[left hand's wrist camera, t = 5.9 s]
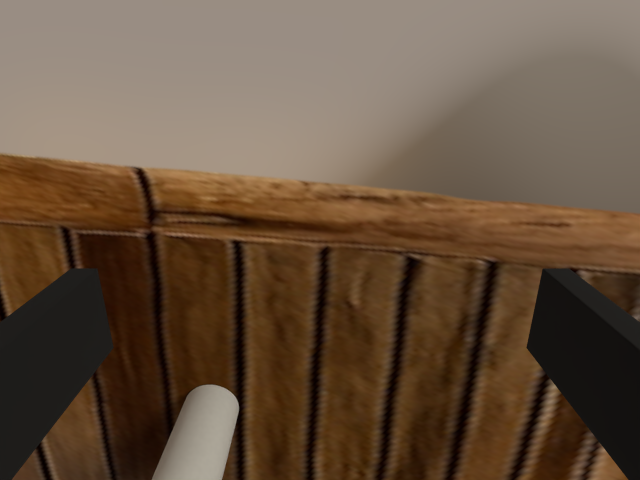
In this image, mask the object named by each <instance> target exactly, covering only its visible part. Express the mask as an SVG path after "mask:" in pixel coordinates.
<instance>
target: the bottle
mask: <svg viewBox="0 0 640 480" xmlns="http://www.w3.org/2000/svg"><path fill="white" fill-rule="evenodd" d="M238 412H239V404H238V401H237V399H236V397H235V396H234V395H233V394H232V393H231V392H230V391H229V390H227V389H225V388H223V387H221V386H217V385H202V386H199V387H197V388H195V389H193V390H192V391H191V392H190V393H189V394H188V395H187V397H186V400H185V402H184V404H183V407H182V409H181V411H180V414H179V416H178V419H177V421H176V423H175V426H174V428H173V430H172V433H171V435H170V438H169V440H168V442H167V445H166V447H165V449H164V452H163V454H162V457H161V459H160V461H159V464H158V466H157V468H156V471H155V473H154V476H153V478H152V480H222V477H223V473H224V469H225V465H226V461H227V457H228V453H229V449H230V445H231V440H232V436H233V432H234V428H235V424H236V420H237V416H238Z"/></svg>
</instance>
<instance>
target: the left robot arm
mask: <svg viewBox="0 0 640 480" xmlns="http://www.w3.org/2000/svg"><path fill="white" fill-rule="evenodd" d="M112 349H113V343H112V338H111V334H110V329H109V324H108V319H107V314H106V309H105V304H104V299H103V295H102V290H101V285H100V280H99V275H98V270H97V269H70V270H69V271H67V272H66V273H65V274H63V275H62V276H61V277H60V278H58V279H57V280H56V281H54V282H53V283H52V284H50V285H49V286H48V287H46V288H45V289H44V290H42V291H41V292H40V293H38V294H37V295H36V296H34V297H33V298H32V299H30V300H29V301H28V302H26V303H25V304H24V305H23V306H21V307H20V308H19V309H17V310H16V311H15V312H13V313H12V314H11V315H9V316H8V317H7V318H5V319H4V320H3V321H1V322H0V480H12V478H13V477H14V476H15V474H16V473H17V472H18V471H19V469H20V468H21V467H22V465H23V464H24V463H25V462H26V460H27V459H28V458H29V456H30V455H31V454H32V452H33V451H34V450H35V449H36V447H37V446H38V445H39V443H40V442H41V441H42V440H43V438H44V437H45V436H46V434H47V433H48V432H49V430H50V429H51V428H52V427H53V425H54V424H55V423H56V421H57V420H58V419H59V418H60V416H61V415H62V414H63V412H64V411H65V410H66V408H67V407H68V406H69V405H70V403H71V402H72V401H73V399H74V398H75V397H76V396H77V394H78V393H79V392H80V390H81V389H82V388H83V386H84V385H85V384H86V383H87V381H88V380H89V379H90V377H91V376H92V375H93V374H94V372H95V371H96V370H97V368H98V367H99V366H100V364H101V363H102V362H103V361H104V359H105V358H106V357H107V355H108V354H109V353H110V352H111V350H112ZM527 349H528V350H529V352H530V353H531V354H532V355H533V357H534V358H535V359H536V361H537V362H538V363H539V364H540V366H541V367H542V368H543V370H544V371H545V372H546V374H547V375H548V376H549V377H550V379H551V380H552V381H553V383H554V384H555V385H556V386H557V388H558V389H559V390H560V392H561V393H562V394H563V396H564V397H565V398H566V399H567V401H568V402H569V403H570V405H571V406H572V407H573V408H574V410H575V411H576V412H577V414H578V415H579V416H580V418H581V419H582V420H583V421H584V423H585V424H586V425H587V427H588V428H589V429H590V430H591V432H592V433H593V434H594V436H595V437H596V438H597V440H598V441H599V442H600V443H601V445H602V446H603V447H604V449H605V450H606V451H607V452H608V454H609V455H610V456H611V458H612V459H613V460H614V462H615V463H616V464H617V465H618V467H619V468H620V469H621V471H622V472H623V473H624V474H625V476H626V477H627V478H628V480H640V322H639V321H637V320H636V319H635V318H633V317H632V316H631V315H629V314H628V313H627V312H625V311H624V310H623V309H621V308H620V307H619V306H617V305H616V304H615V303H614V302H612V301H611V300H610V299H608V298H607V297H606V296H604V295H603V294H602V293H600V292H599V291H598V290H596V289H595V288H594V287H592V286H591V285H590V284H588V283H587V282H586V281H584V280H583V279H582V278H580V277H579V276H578V275H577V274H575V273H574V272H573V271H571V270H570V269H543V270H542V275H541V280H540V285H539V290H538V295H537V299H536V304H535V309H534V314H533V319H532V324H531V329H530V334H529V338H528V343H527Z"/></svg>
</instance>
